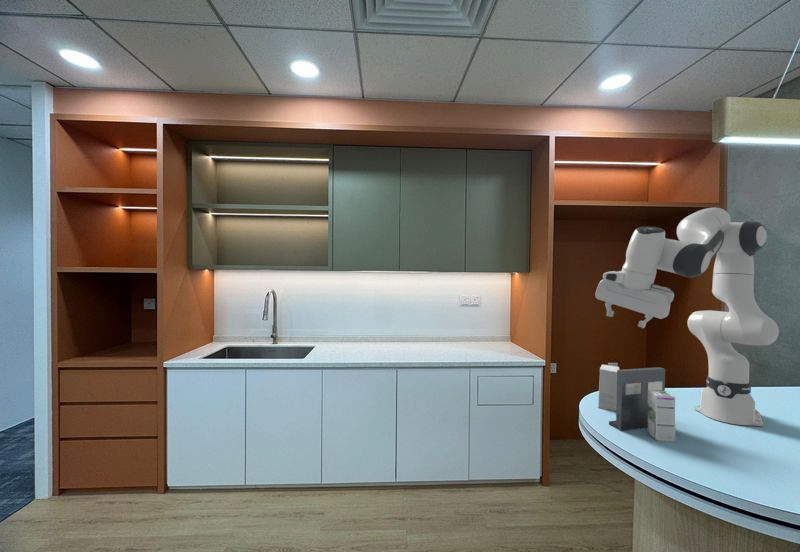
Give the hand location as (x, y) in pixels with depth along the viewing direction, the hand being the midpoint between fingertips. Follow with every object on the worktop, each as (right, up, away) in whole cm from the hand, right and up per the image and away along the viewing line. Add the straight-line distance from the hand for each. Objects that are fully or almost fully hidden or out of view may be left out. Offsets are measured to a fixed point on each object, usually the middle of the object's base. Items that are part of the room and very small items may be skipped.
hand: (624, 321), depth 114 cm
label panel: (+11, -38, +10) cm, 40 cm away
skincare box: (+11, -38, +28) cm, 48 cm away
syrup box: (+13, -38, +2) cm, 40 cm away
